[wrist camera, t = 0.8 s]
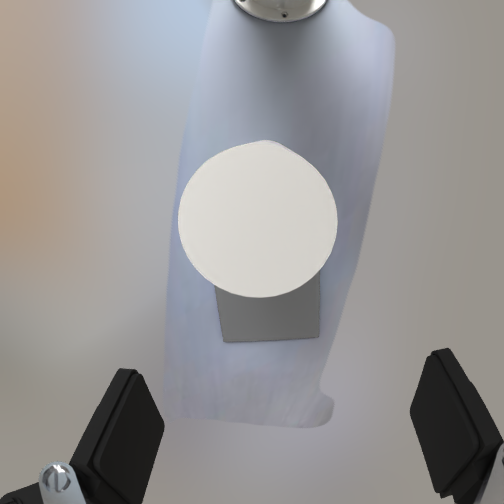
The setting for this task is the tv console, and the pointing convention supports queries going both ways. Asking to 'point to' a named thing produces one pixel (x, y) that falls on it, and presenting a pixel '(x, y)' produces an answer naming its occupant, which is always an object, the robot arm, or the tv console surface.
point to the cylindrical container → (257, 220)
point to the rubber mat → (271, 314)
